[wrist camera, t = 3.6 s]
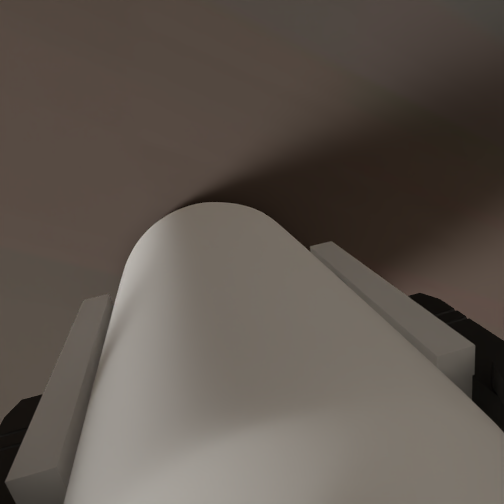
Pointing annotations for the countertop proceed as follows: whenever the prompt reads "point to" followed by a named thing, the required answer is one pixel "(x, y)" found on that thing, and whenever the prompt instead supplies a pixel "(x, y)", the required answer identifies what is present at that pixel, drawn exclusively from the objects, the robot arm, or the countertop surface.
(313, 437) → the can
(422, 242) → the countertop surface
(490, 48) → the countertop surface
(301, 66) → the countertop surface
